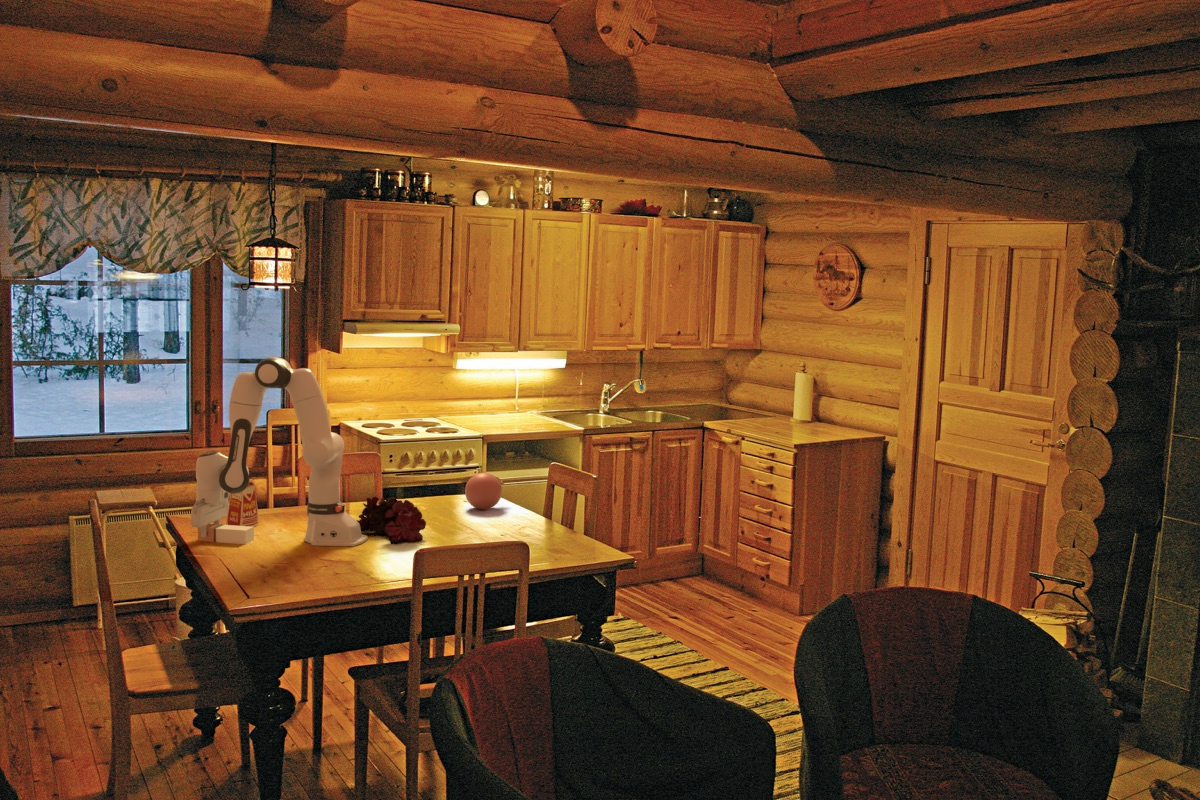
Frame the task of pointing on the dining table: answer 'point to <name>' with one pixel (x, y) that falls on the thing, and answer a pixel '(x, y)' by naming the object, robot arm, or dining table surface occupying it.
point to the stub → (210, 533)
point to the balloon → (483, 491)
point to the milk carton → (243, 507)
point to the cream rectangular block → (233, 534)
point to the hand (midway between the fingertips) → (209, 534)
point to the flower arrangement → (392, 520)
